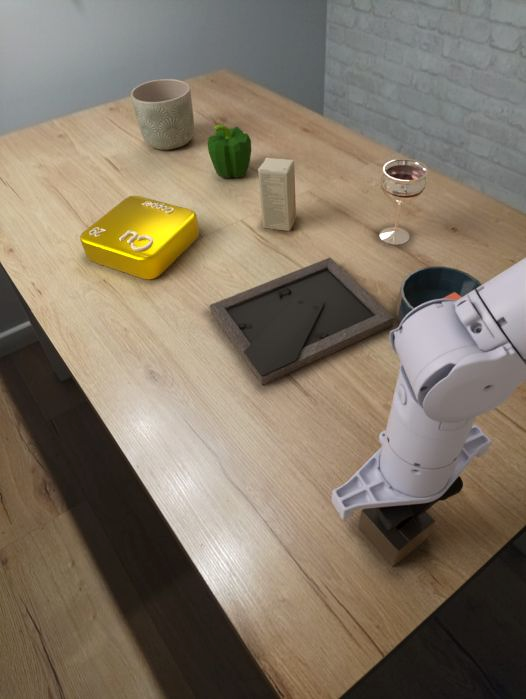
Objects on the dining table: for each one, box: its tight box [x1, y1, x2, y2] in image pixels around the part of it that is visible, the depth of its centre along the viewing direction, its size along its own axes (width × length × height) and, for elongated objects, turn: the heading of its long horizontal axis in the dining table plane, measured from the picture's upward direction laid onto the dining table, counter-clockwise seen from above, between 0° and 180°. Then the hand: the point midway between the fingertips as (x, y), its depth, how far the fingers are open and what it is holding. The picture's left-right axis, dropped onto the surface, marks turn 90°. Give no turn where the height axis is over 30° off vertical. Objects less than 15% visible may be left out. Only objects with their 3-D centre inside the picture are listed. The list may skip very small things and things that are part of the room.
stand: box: [357, 508, 436, 568], centre depth 51 cm, size 5×5×4 cm
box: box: [257, 157, 297, 232], centre depth 87 cm, size 5×4×11 cm
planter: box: [130, 78, 195, 151], centre depth 111 cm, size 12×12×11 cm
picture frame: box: [209, 257, 395, 386], centre depth 74 cm, size 16×2×21 cm
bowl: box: [395, 265, 483, 325], centre depth 72 cm, size 11×11×4 cm
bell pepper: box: [206, 124, 252, 179], centre depth 100 cm, size 8×8×10 cm
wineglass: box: [379, 158, 429, 246], centre depth 83 cm, size 7×7×12 cm
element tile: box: [79, 195, 200, 280], centre depth 87 cm, size 15×15×5 cm
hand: (398, 513), depth 50 cm, fingers closed
